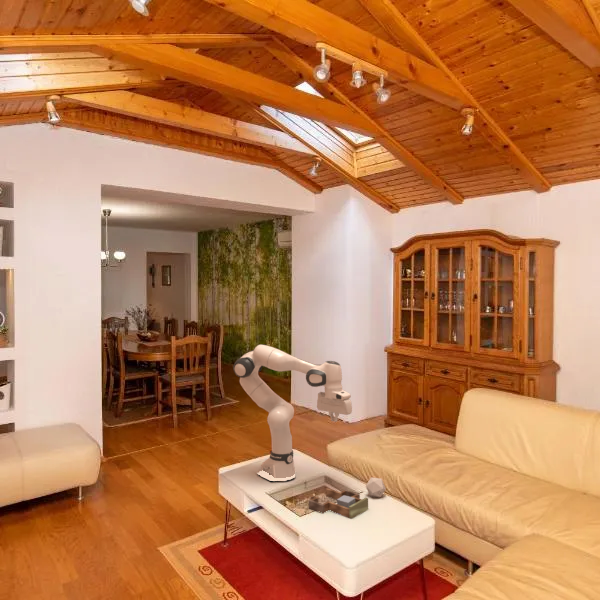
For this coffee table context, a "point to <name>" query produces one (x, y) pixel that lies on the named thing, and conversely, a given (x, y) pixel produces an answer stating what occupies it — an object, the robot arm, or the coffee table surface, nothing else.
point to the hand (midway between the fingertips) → (334, 421)
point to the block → (346, 501)
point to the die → (375, 487)
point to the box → (349, 512)
